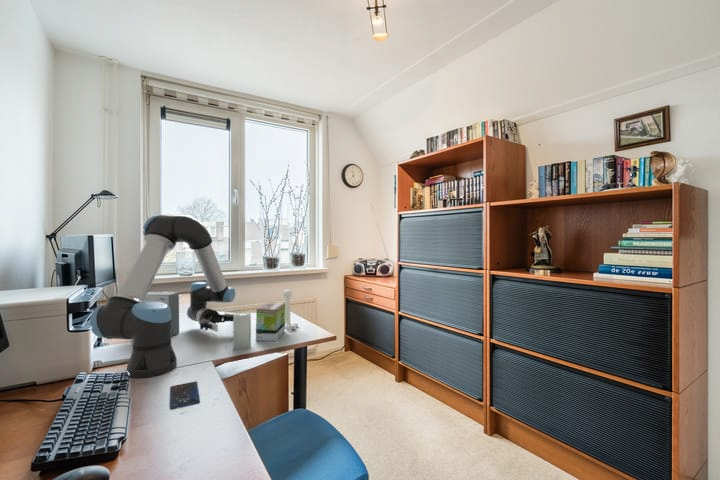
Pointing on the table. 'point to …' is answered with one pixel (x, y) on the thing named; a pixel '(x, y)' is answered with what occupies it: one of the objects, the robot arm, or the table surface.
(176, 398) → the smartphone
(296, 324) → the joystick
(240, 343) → the canister
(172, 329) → the hard drive box
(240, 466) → the table surface
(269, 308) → the tea box
